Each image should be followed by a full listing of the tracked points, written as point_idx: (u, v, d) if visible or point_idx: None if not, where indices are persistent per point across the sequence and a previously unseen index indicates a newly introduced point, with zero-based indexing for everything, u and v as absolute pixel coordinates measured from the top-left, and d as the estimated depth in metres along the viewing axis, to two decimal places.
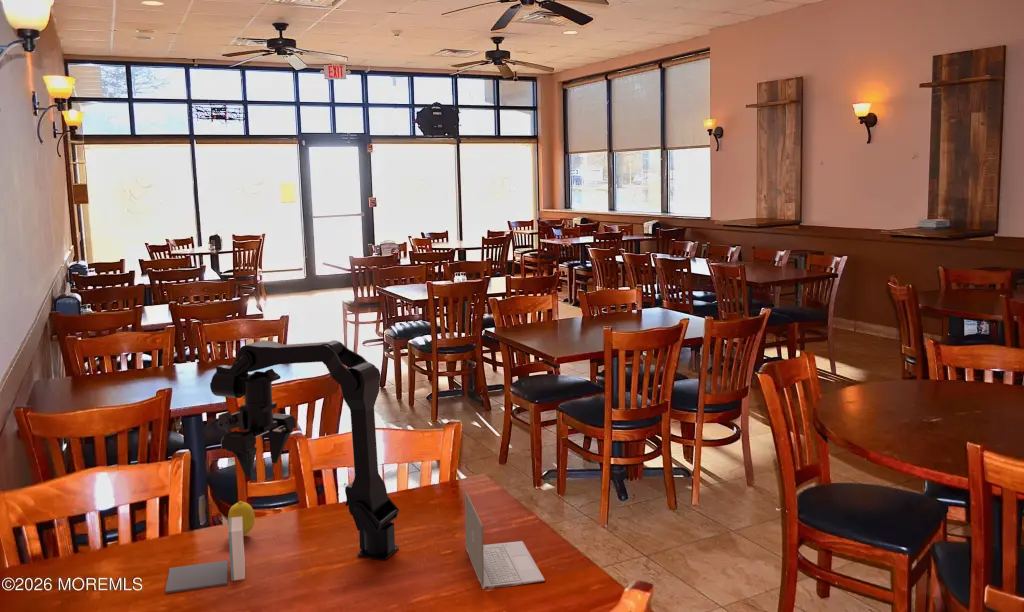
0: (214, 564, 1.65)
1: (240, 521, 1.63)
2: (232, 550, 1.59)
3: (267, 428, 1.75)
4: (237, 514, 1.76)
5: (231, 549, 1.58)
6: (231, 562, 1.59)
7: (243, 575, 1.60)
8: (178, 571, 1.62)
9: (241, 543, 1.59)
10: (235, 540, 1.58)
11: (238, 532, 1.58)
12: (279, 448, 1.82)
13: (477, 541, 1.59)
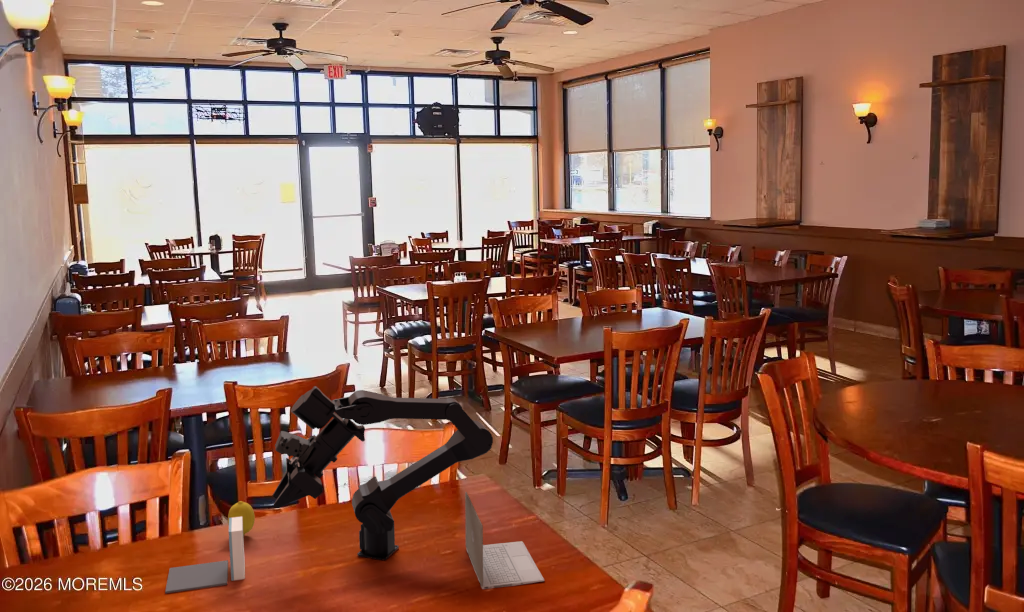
0: (214, 564, 1.65)
1: (240, 521, 1.63)
2: (232, 550, 1.59)
3: None
4: (237, 514, 1.76)
5: (231, 549, 1.58)
6: (231, 562, 1.59)
7: (243, 575, 1.60)
8: (178, 571, 1.62)
9: (241, 543, 1.59)
10: (235, 540, 1.58)
11: (238, 532, 1.58)
12: None
13: (477, 541, 1.59)
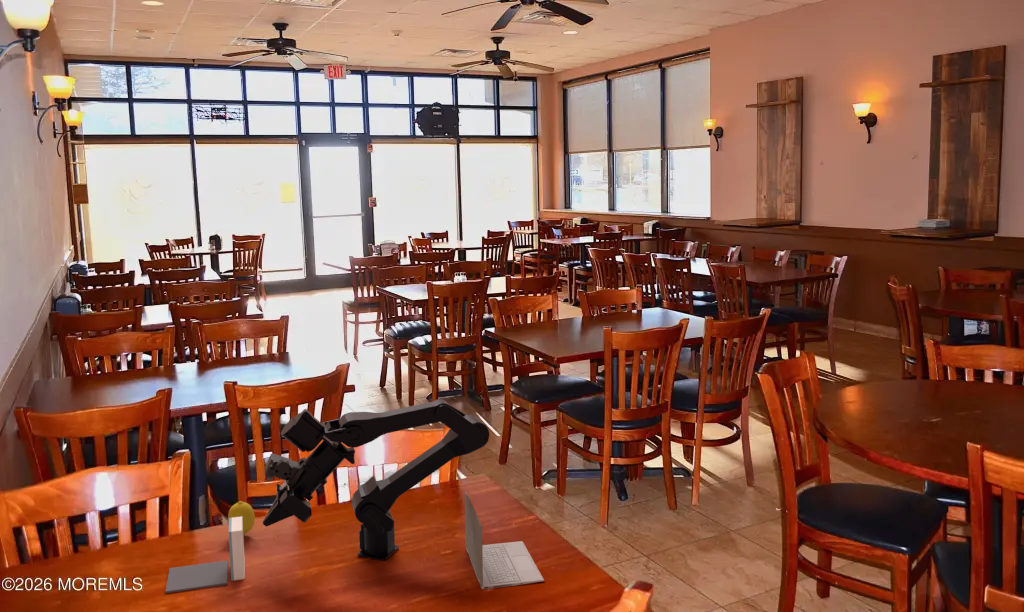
0: (214, 564, 1.65)
1: (240, 521, 1.63)
2: (232, 550, 1.59)
3: None
4: (237, 514, 1.76)
5: (231, 549, 1.58)
6: (231, 562, 1.59)
7: (243, 575, 1.60)
8: (178, 571, 1.62)
9: (241, 543, 1.59)
10: (235, 540, 1.58)
11: (238, 532, 1.58)
12: None
13: (476, 541, 1.59)
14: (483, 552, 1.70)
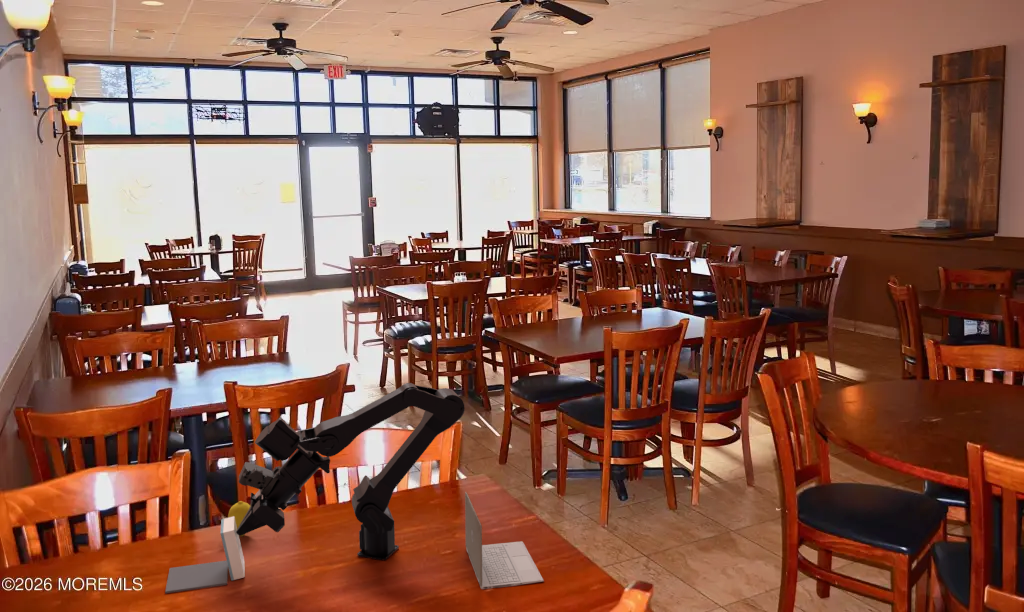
0: (214, 564, 1.65)
1: (232, 521, 1.62)
2: (227, 551, 1.58)
3: None
4: (237, 514, 1.76)
5: (226, 550, 1.58)
6: (228, 562, 1.59)
7: (242, 573, 1.60)
8: (178, 571, 1.62)
9: (235, 543, 1.59)
10: (228, 540, 1.58)
11: (230, 533, 1.58)
12: None
13: (476, 541, 1.59)
14: (483, 552, 1.70)
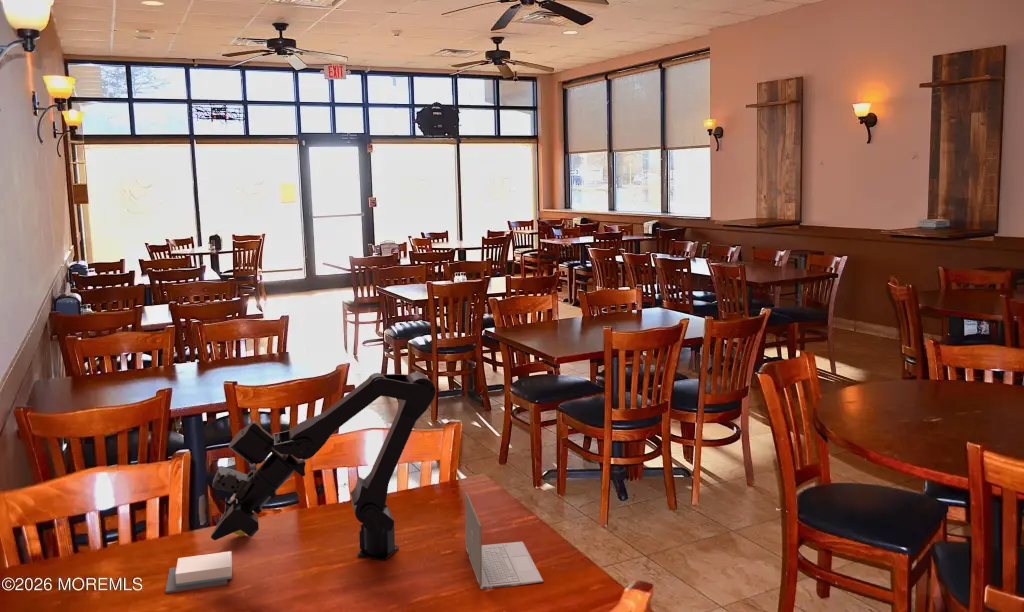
0: None
1: (177, 565, 1.60)
2: (197, 580, 1.57)
3: None
4: None
5: (196, 581, 1.57)
6: (211, 580, 1.58)
7: (227, 568, 1.59)
8: None
9: (190, 573, 1.57)
10: (186, 579, 1.57)
11: (178, 577, 1.56)
12: None
13: (476, 541, 1.59)
14: (483, 552, 1.70)
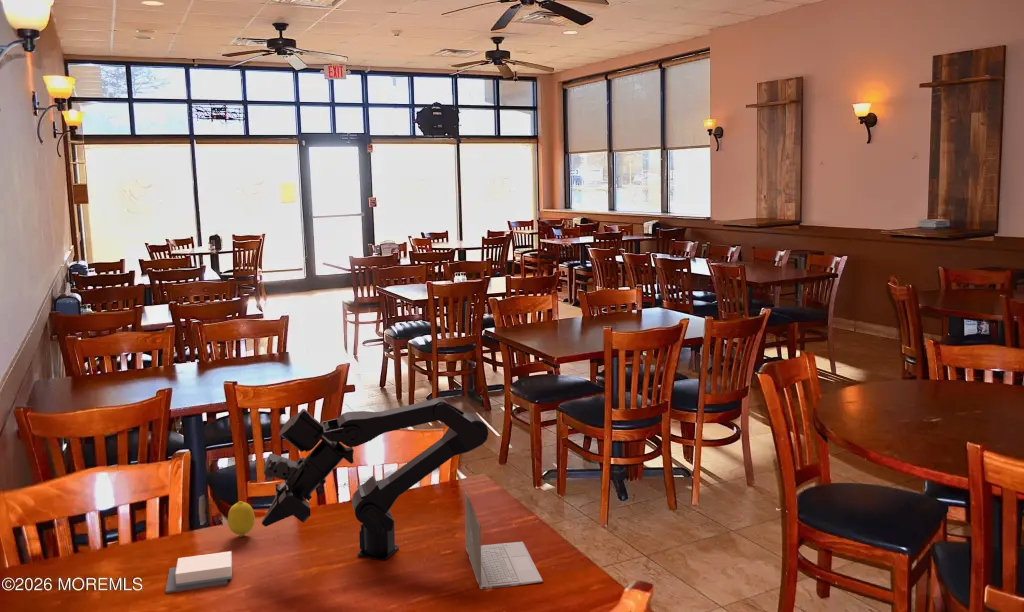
0: None
1: (177, 565, 1.60)
2: (197, 580, 1.57)
3: None
4: (237, 514, 1.76)
5: (196, 581, 1.57)
6: (211, 580, 1.58)
7: (227, 568, 1.59)
8: None
9: (190, 573, 1.57)
10: (186, 579, 1.57)
11: (178, 577, 1.56)
12: None
13: (475, 541, 1.59)
14: (483, 552, 1.70)
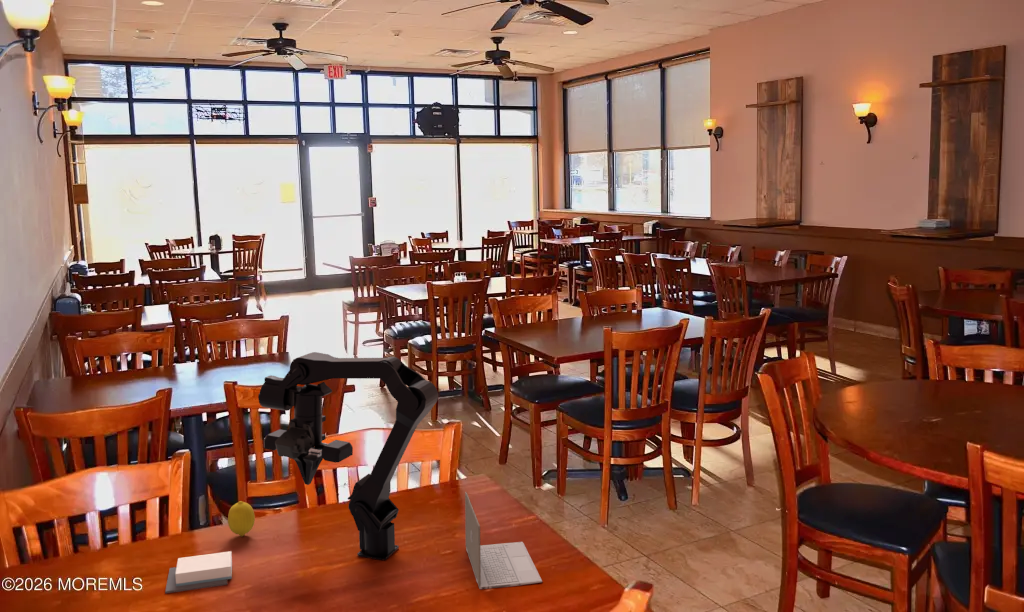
0: None
1: (177, 565, 1.60)
2: (197, 580, 1.57)
3: None
4: (237, 514, 1.76)
5: (196, 581, 1.57)
6: (211, 580, 1.58)
7: (227, 568, 1.59)
8: None
9: (190, 573, 1.57)
10: (186, 579, 1.57)
11: (178, 577, 1.56)
12: None
13: (475, 541, 1.59)
14: (483, 552, 1.70)
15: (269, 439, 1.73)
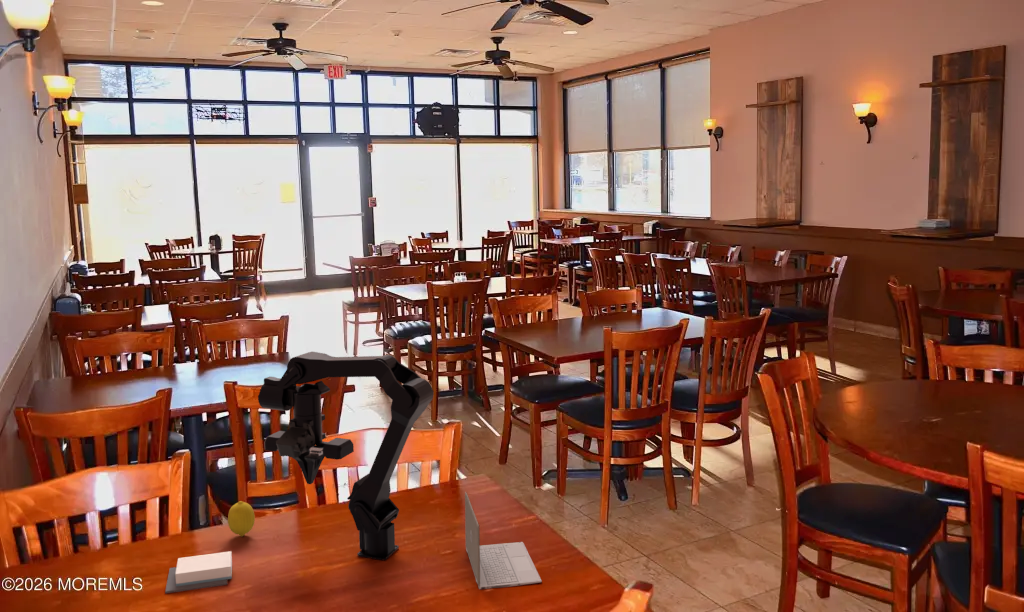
0: None
1: (177, 565, 1.60)
2: (197, 580, 1.57)
3: None
4: (237, 514, 1.76)
5: (196, 581, 1.57)
6: (211, 580, 1.58)
7: (227, 568, 1.59)
8: None
9: (190, 573, 1.57)
10: (186, 579, 1.57)
11: (178, 577, 1.56)
12: None
13: (474, 541, 1.59)
14: (483, 552, 1.70)
15: (269, 440, 1.73)
